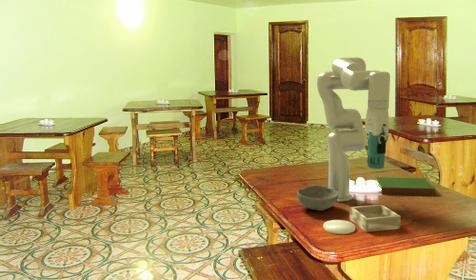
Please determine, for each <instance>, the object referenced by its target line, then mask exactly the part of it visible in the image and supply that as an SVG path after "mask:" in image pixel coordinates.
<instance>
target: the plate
mask: <svg viewBox="0 0 476 280" xmlns="http://www.w3.org/2000/svg"><path fill="white" fill-rule="evenodd" d="M322 227H323V229H324V230H325V231H326V232H328V233H331V234H335V235H349V234H352V233H354V232H355V231H356V224H355V223H354V222H353V223H352V221H347V220H343V219H331V220H327V221H325V222H324V223H323V226H322Z"/></svg>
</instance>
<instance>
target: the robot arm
mask: <svg viewBox="0 0 476 280" xmlns="http://www.w3.org/2000/svg"><path fill="white" fill-rule="evenodd" d="M390 87H391V75H390V73H389V72H388V71H380V70H367V63H366V61H365V60H364V58H361V57H356V56H354V57H339V58H337V59H335V60H334V61H333V62H332V65H331V71H324V72H321V73H320V74H319V75H318V76H317V79H316V88H317V91H318V95H319V97H320V99H321V102H322V104H323V108H324V109H323V111H324V116H325V120H326V125H327V127H328V128H329V129H330V130H335V131H332V132H330V133H329V134H328V135H327V138H326V145H327V151H328V183H327V184H328V186H327V188H330V189H333V190H336V191H338V198H337V201H336V202H349V201H351V200H352V199H353V195H352V193H350V173H351V171H350V170H351V169H350V165H351V162H350V158H349V157H348V156H347V154H346V153H347V152H359V151H362V150H364V149H365V147H366V144H367V143H366V142H367V141H366V135H367V140H368V138H369V131H371V132H372V135H373V136H377V137H378V143H377V154H386V153H387V152H386V148H387V144H388V139H389V138H390V133H389V131H390V130H389V129H390V127H389V125H390V122H389V121H390V120H389V119H390V117H389V116H390V115H389V114H390V113H389V109H390V90H391V88H390ZM334 90H349V91H353V92H355V91H356V92H357V91H368V92H367V109H366V114H365V123H364V124H365V125H363V120H362V115H361V113H360V112H359V110H357V109H355V108H344V107H343V102H342V99H341V97H340V96H339V95H338V93H336V92H335V91H334ZM336 130H337V131H336ZM338 130H339V131H338ZM365 133H366V134H365ZM381 133H384V134H383V135H380V134H381ZM381 137H382V139H381Z"/></svg>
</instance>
